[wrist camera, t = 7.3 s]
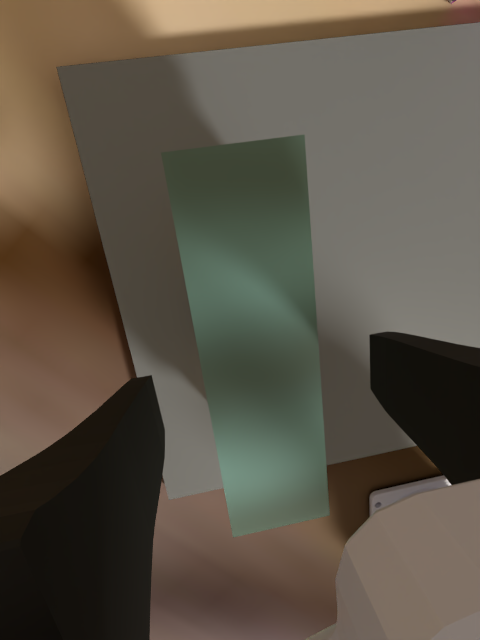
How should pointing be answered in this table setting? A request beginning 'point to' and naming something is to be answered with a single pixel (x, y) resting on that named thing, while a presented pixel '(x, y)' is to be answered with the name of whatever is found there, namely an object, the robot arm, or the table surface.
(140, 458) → the robot arm
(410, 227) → the board
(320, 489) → the beam
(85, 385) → the table surface
